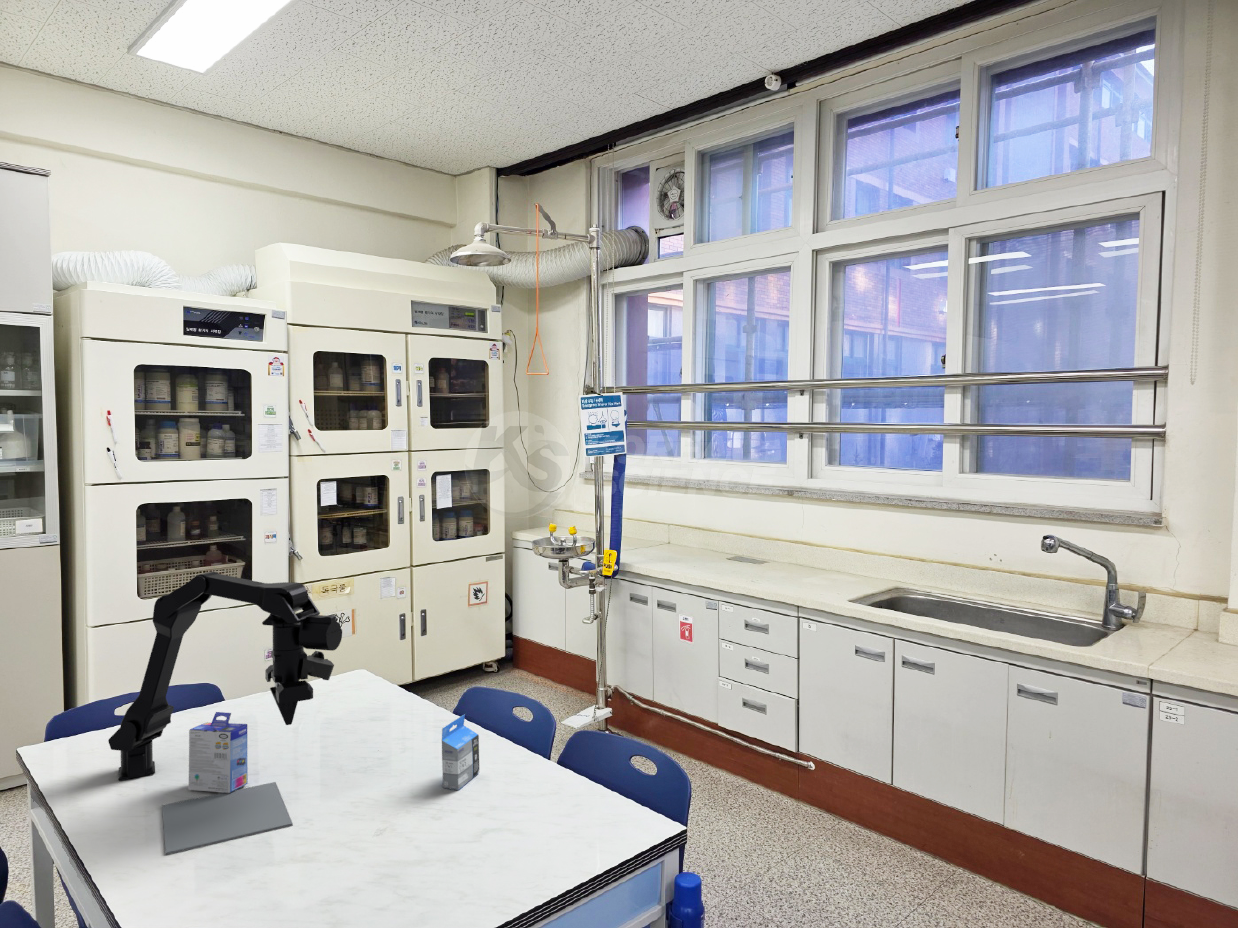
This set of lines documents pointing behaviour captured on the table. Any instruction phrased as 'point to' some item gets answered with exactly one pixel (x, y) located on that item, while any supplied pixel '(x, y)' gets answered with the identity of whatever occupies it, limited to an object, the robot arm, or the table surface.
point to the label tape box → (459, 754)
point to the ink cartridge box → (218, 756)
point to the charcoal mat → (223, 817)
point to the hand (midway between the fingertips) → (288, 724)
